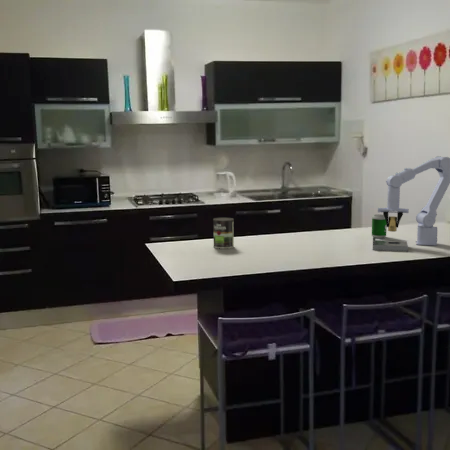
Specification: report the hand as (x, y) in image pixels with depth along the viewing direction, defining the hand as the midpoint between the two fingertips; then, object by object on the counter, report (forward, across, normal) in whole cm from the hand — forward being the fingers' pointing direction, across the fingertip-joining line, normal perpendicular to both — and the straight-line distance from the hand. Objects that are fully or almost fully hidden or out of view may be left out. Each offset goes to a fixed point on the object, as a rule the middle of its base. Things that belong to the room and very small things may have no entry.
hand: (392, 227), depth 279 cm
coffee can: (+9, -81, -22) cm, 84 cm away
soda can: (+9, -6, +18) cm, 21 cm away
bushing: (+2, 0, 0) cm, 2 cm away
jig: (+9, -1, -9) cm, 13 cm away
